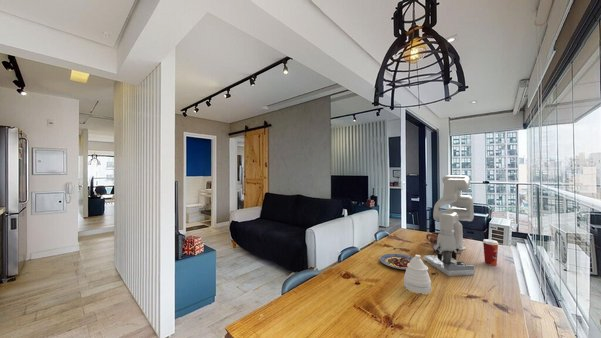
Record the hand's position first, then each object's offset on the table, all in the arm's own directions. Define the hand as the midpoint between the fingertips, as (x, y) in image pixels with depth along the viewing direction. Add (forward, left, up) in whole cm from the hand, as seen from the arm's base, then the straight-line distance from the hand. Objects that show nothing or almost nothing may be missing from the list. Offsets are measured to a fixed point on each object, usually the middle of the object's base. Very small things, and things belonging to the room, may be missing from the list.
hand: (446, 259), depth 146 cm
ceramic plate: (-8, -27, -5) cm, 29 cm away
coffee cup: (-2, +32, -5) cm, 32 cm away
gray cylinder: (0, 0, -5) cm, 5 cm away
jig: (0, 0, -5) cm, 5 cm away
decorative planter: (-26, +13, -5) cm, 30 cm away
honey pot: (+23, -34, -5) cm, 41 cm away
